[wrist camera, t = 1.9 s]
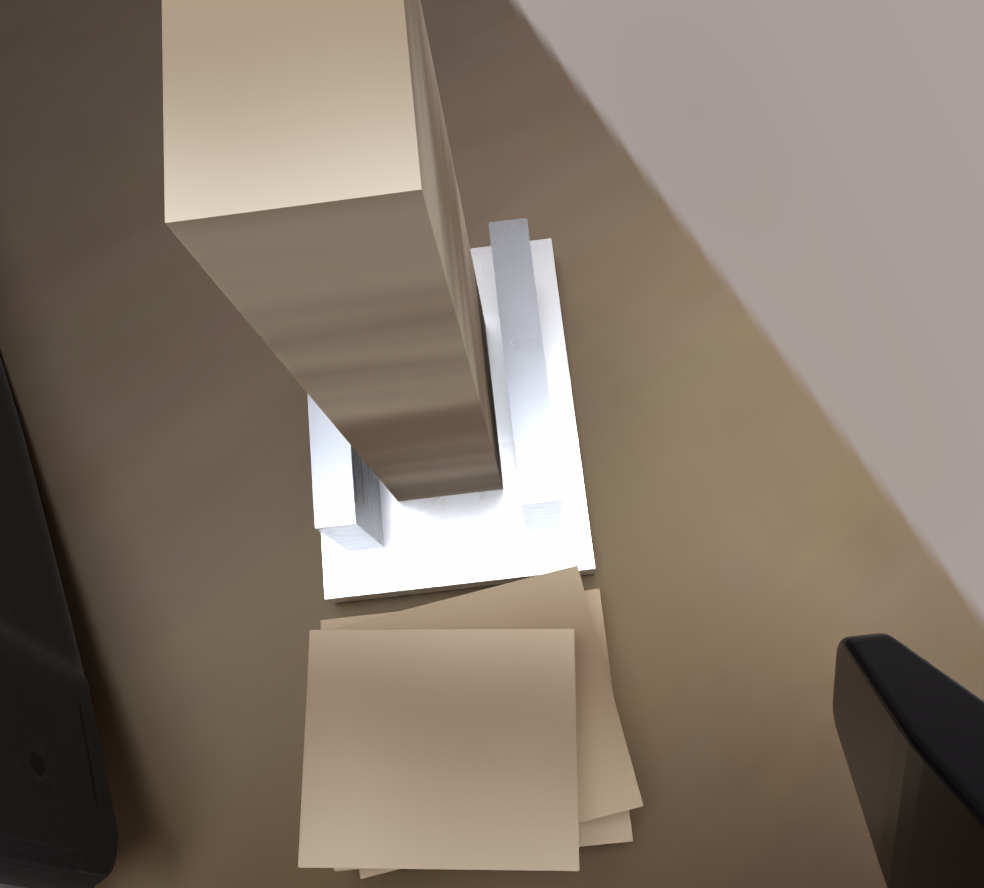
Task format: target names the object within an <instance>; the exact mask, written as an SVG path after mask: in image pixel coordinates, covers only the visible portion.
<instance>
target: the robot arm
mask: <svg viewBox="0 0 984 888" xmlns="http://www.w3.org/2000/svg"><path fill="white" fill-rule="evenodd" d="M833 714H834V720H835V725H836V729H837V732H838V735H839V738H840V742H841V745H842V748H843V751H844V754H845V757H846V760H847V764H848V767H849V770H850V773H851V776H852V779H853V783H854V786H855V789H856V792H857V795H858V798H859V801H860V805H861V808H862V811H863V814H864V817H865V820H866V824H867V827H868V830H869V833H870V836H871V839H872V842H873V846H874V849H875V852H876V855H877V858H878V861H879V864H880V867H881V870H882V873H883V876H884V879H885V882H886V885H887V888H984V701H983V700H981V699H980V698H978V697H977V696H975V695H974V694H973V693H971V692H970V691H968V690H967V689H966V688H964V687H963V686H961V685H960V684H958V683H957V682H956V681H954V680H953V679H951V678H950V677H949V676H947V675H946V674H944V673H943V672H942V671H940V670H939V669H937V668H936V667H934V666H933V665H932V664H930V663H929V662H927V661H926V660H925V659H923V658H922V657H920V656H919V655H918V654H916V653H915V652H913V651H912V650H910V649H909V648H908V647H906V646H905V645H903V644H902V643H901V642H899V641H898V640H896V639H895V638H893V637H892V636H889V635H887V634H882V633H878V634H869V635H860V636H850V637H846V638H844V639H842V640H841V641H840V643H839V645H838V648H837V655H836V668H835V681H834V693H833Z"/></svg>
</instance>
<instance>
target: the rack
mask: <svg viewBox="0 0 984 888" xmlns="http://www.w3.org/2000/svg"><path fill="white" fill-rule="evenodd" d="M489 230H490V239H491V246H487V247H480V248H472V249H470V250H471V255H472V260H473V265H474V270H475V275H476V280H477V285H478V290H479V295H480V300H481V305H482V310H483V315H484V320H485V325H486V334H487V343H488V352H489V361H490V370H491V379H492V388H493V397H494V406H495V415H496V424H497V433H498V442H499V452H500V461H501V470H502V479H503V488H504V489H500V490H492V491H483V492H475V493H466V494H458V495H449V496H441V497H432V498H424V499H415V500H407V501H397V499H396V498H395V497H394V496H393V495H392V494H391V492H390V491H389V490H388V489H387V488H386V486H385V485H384V484H383V483H382V482H381V480H380V479H379V478H378V477H377V476H376V474H375V473H374V472H373V471H372V470H371V468H370V467H369V466H368V465H367V464H366V462H365V461H364V460H363V459H362V458H361V457H360V455H359V454H358V453H357V452H356V451H355V449H354V448H353V447H352V446H351V445H350V443H349V442H348V441H347V440H346V439H345V437H344V436H343V435H342V434H341V433H340V431H339V430H338V429H337V428H336V427H335V425H334V424H333V423H332V422H331V421H330V419H329V418H328V417H327V416H326V415H325V414H324V412H323V411H322V410H321V409H320V408H319V406H318V405H317V404H316V403H315V402H314V400H313V399H312V398H311V397H310V396H309V394H308V393H307V395H308V413H309V431H310V449H311V467H312V485H313V503H314V521H315V529H316V530H318V531H319V532H321V542H322V560H323V577H324V595H325V599H326V600H328V601H330V602H333V603H343V602H352V601H361V600H370V599H378V598H387V597H396V596H405V595H414V594H423V593H431V592H440V591H449V590H458V589H467V588H475V587H484V586H493V585H502V584H507V583H511V582H514V581H518V580H522V579H526V578H530V577H534V576H538V575H541V574H545V573H549V572H553V571H557V570H561V569H565V568H569V567H572V566H576V565H578V569H579V572H580V576H581V575H590V574H594V571H595V563H594V555H593V548H592V540H591V533H590V525H589V518H588V510H587V503H586V496H585V488H584V481H583V473H582V466H581V458H580V451H579V443H578V436H577V428H576V421H575V413H574V406H573V398H572V391H571V383H570V376H569V368H568V361H567V354H566V346H565V339H564V331H563V324H562V316H561V309H560V301H559V294H558V286H557V279H556V271H555V264H554V256H553V249H552V241H551V238H550V239H542V240H534V241H530V239H529V231H528V223H527V218H521V219H514V220H506V221H498V222H490V223H489Z"/></svg>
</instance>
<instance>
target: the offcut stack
mask: <svg viewBox="0 0 984 888" xmlns="http://www.w3.org/2000/svg"><path fill="white" fill-rule="evenodd" d="M642 806H643V802H642V799H641V795H640V791H639V788H638V784H637V780H636V777H635V773H634V769H633V766H632V762H631V758H630V755H629V751H628V747H627V744H626V740H625V737H624V733H623V729H622V726H621V722H620V718H619V715H618V711H617V707H616V704H615V700H614V694H613V687H612V679H611V672H610V665H609V657H608V650H607V642H606V635H605V627H604V620H603V612H602V605H601V597H600V590H599V589H593V590H584V587H583V583H582V580H581V576H580V572H579V569H578V565H576V566H572V567H569V568H565V569H561V570H557V571H553V572H549V573H545V574H541V575H538V576H534V577H530V578H526V579H522V580H518V581H514V582H511V583H507V584H503V585H499V586H495V587H491V588H487V589H484V590H480V591H476V592H472V593H468V594H464V595H460V596H456V597H453V598H449V599H445V600H441V601H437V602H433V603H429V604H426V605H422V606H418V607H414V608H410V609H406V610H402V611H398V612H389V613H380V614H371V615H362V616H353V617H344V618H336V619H327V620H321V630H310V635H309V655H308V675H307V696H306V716H305V736H304V756H303V777H302V797H301V817H300V838H299V858H298V868H334V872H336V871H346V870H356V869H359V873H360V878H361V879H363V878H367V877H371V876H375V875H379V874H382V873H386V872H390V871H394V870H398V869H452V870H530V871H579V847H582V846H591V845H601V844H611V843H621V842H631V841H633V836H632V829H631V821H630V814H629V810H631V809H634V808H638V807H642Z"/></svg>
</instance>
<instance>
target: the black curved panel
mask: <svg viewBox="0 0 984 888" xmlns="http://www.w3.org/2000/svg"><path fill="white" fill-rule="evenodd" d="M117 842H118V830H117V825H116V820H115V815H114V810H113V805H112V800H111V795H110V790H109V785H108V780H107V775H106V770H105V765H104V760H103V755H102V750H101V745H100V740H99V735H98V730H97V725H96V720H95V715H94V710H93V705H92V700H91V695H90V690H89V685H88V680H87V678H85V676H84V672H83V668H82V663H81V659H80V654H79V650H78V646H77V642H76V638H75V634H74V629H73V625H72V621H71V617H70V613H69V609H68V604H67V600H66V596H65V593H64V589H63V585H62V581H61V577H60V573H59V569H58V565H57V562H56V558H55V554H54V550H53V546H52V542H51V538H50V535H49V531H48V527H47V523H46V519H45V515H44V511H43V507H42V504H41V500H40V496H39V492H38V488H37V484H36V480H35V476H34V473H33V469H32V465H31V461H30V457H29V453H28V449H27V446H26V442H25V438H24V434H23V431H22V427H21V424H20V421H19V417H18V414H17V410H16V407H15V404H14V400H13V397H12V394H11V390H10V387H9V383H8V380H7V377H6V373H5V370H4V367H3V363H2V360H1V357H0V888H93V887H94V886H95V885H97V884H98V883H99V882H101V881H102V880H103V879H104V878H106V877H107V876H108V875H109V874H110V873H111V871H112V869H113V865H114V862H115V859H116V852H117Z"/></svg>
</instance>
